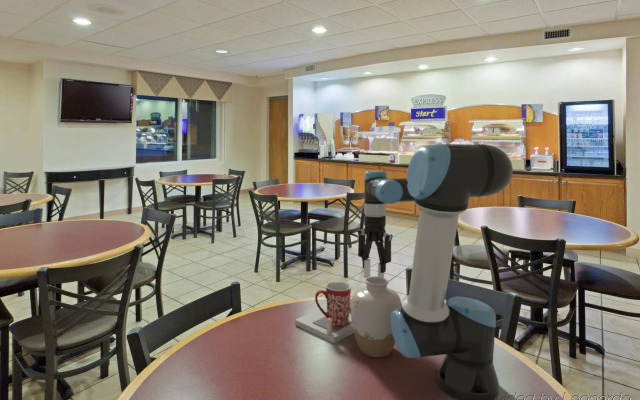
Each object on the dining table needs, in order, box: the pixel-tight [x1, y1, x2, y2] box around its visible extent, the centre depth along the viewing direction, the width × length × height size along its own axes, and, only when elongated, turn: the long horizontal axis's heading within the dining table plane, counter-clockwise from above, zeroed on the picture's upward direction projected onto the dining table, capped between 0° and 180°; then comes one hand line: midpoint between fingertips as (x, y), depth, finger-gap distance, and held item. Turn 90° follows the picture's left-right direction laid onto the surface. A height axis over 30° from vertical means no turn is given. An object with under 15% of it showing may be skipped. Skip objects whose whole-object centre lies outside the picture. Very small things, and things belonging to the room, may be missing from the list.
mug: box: [314, 281, 352, 327], centre depth 133 cm, size 13×9×14 cm
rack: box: [294, 305, 354, 344], centre depth 138 cm, size 19×23×7 cm
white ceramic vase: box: [351, 276, 402, 359], centre depth 119 cm, size 16×16×23 cm
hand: (373, 278), depth 136 cm, fingers open, 5 cm apart
